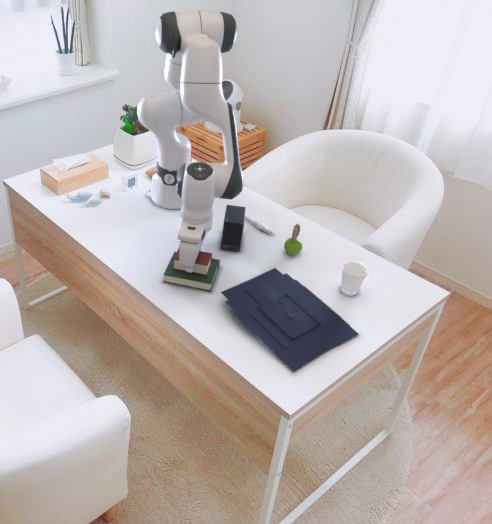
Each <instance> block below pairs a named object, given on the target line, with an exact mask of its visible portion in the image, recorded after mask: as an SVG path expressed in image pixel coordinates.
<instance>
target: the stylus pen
mask: <svg viewBox="0 0 492 524" xmlns="http://www.w3.org/2000/svg"><path fill="white" fill-rule="evenodd" d="M245 220H247V221H248V222H249V223H250V224H251V225H253V226H255V227H256V229H258V230H259V231H262V232H264V233H267V234H268V235H269V236H272V234H273V233H274V230H272V229H271V228H270V227H269V226H267V224H266V223H264V222H263V221H259V220H257V219H254V218H253V217H250V216H248V215H246V214H245Z"/></svg>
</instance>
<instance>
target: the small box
mask: <svg viewBox="0 0 492 524" xmlns="http://www.w3.org/2000/svg"><path fill="white" fill-rule="evenodd" d="M245 215H246V206H240V205H233V204H226V207H225V212H224V217H223V222H222V223H223V224H222V231H221V234H222V235H221V240H220V247H219V248H220V250H225V251H233V252H240V251H241V247H242V241H243V235H244V228H245V221H246V219H245Z"/></svg>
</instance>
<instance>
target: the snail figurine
mask: <svg viewBox="0 0 492 524" xmlns="http://www.w3.org/2000/svg"><path fill="white" fill-rule="evenodd" d="M300 232H301V224H300V223H296V224H295V225H293V229H292V233H291V237H289V238H287V239H286V240H285V242H284V245H283V247H284V251H285V252H286V253H287V254H288V255H291V256H296V255H298V254H300V253H301V252H302V250H303V243H302V241H301V239H300V238H298V237H299V235H300Z"/></svg>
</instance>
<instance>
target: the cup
mask: <svg viewBox="0 0 492 524" xmlns="http://www.w3.org/2000/svg"><path fill="white" fill-rule="evenodd" d="M367 275H368V267H366V265H364V264H363V262H362V263H361V262H357V261H347V262H344V263H342V271H341V289H340V290H341V291H340V292H341V293H342V294H344V295H345V296H351V297H352V296H355V295H357V292H358V291H359V290H360V288H361V287H362V285H363V283H364V281H365V279H366V277H367Z"/></svg>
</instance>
